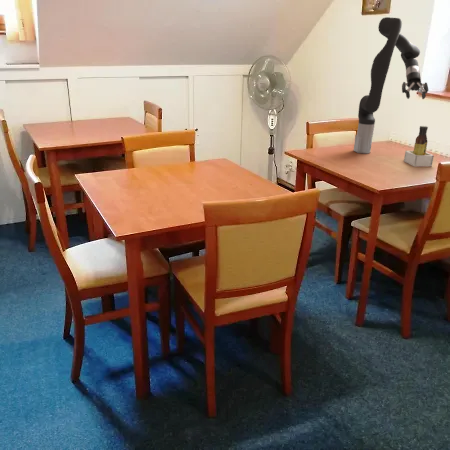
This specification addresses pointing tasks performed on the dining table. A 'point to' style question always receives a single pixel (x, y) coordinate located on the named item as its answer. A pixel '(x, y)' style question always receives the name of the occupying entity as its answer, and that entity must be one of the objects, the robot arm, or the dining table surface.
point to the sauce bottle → (421, 141)
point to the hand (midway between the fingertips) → (416, 98)
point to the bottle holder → (418, 159)
